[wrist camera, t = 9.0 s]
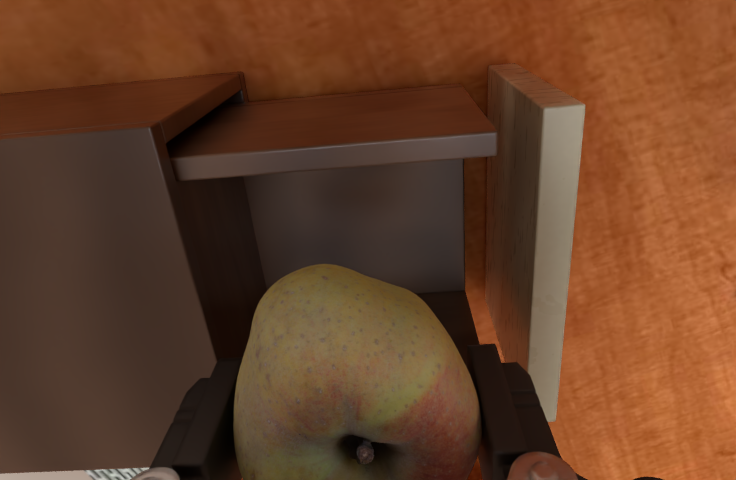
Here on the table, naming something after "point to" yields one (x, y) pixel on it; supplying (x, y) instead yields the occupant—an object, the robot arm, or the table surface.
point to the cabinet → (99, 272)
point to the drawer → (393, 204)
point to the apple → (352, 385)
